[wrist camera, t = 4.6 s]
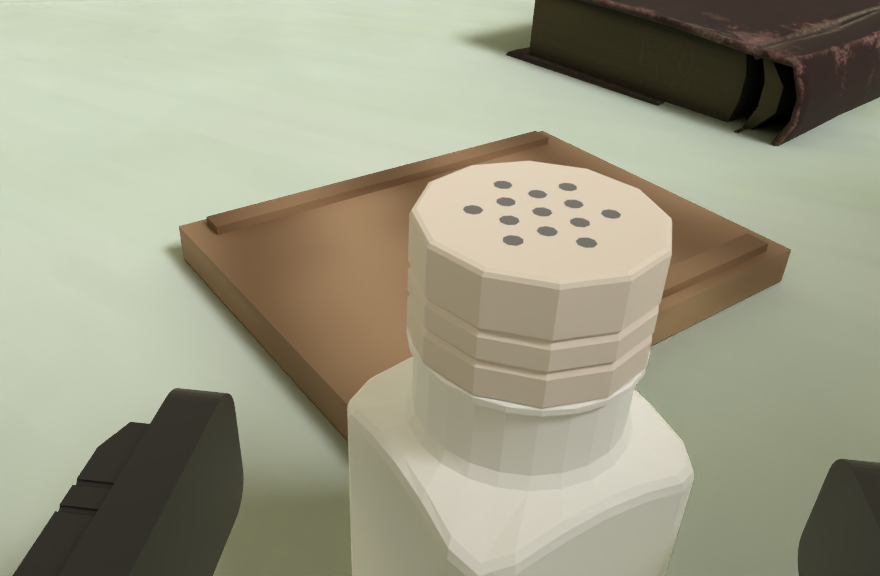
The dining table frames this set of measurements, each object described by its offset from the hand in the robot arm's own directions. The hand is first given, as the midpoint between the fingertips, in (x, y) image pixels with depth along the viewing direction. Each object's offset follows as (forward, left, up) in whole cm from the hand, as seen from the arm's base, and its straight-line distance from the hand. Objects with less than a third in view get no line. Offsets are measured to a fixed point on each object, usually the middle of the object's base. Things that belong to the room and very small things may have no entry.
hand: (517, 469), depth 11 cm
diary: (-40, -23, -7) cm, 46 cm away
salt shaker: (-1, -1, -6) cm, 6 cm away
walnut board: (-10, -12, -6) cm, 16 cm away
